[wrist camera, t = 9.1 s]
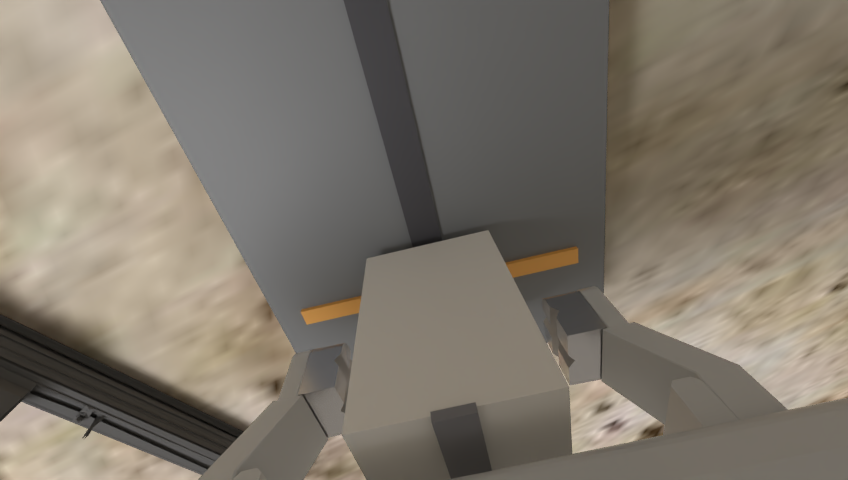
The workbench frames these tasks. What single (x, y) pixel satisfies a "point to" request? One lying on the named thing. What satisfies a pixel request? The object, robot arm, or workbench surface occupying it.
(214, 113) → the slider console
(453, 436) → the fader cap
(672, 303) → the workbench surface
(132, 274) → the workbench surface
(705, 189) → the workbench surface
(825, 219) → the workbench surface
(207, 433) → the dark grey bar
